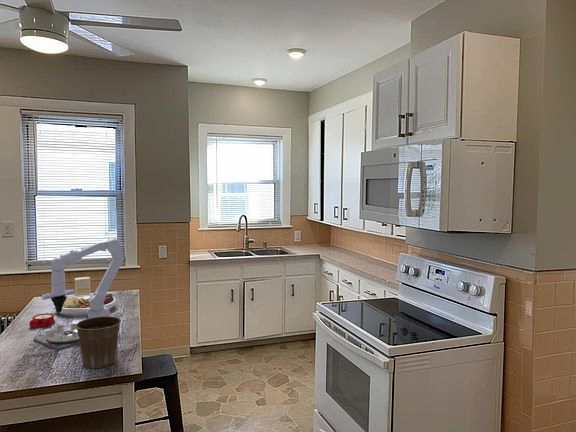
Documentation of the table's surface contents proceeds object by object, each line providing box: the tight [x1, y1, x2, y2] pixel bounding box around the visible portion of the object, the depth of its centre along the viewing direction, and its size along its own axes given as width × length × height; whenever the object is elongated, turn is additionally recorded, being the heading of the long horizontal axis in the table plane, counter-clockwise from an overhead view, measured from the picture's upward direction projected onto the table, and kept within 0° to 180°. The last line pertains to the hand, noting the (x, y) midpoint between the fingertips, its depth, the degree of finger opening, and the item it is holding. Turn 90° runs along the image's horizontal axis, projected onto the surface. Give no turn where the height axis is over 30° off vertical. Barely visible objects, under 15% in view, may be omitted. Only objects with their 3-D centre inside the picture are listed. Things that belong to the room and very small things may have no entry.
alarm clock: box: [29, 312, 56, 329], centre depth 216 cm, size 10×6×15 cm
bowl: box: [58, 292, 116, 317], centre depth 243 cm, size 30×30×8 cm
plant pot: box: [76, 316, 122, 370], centre depth 171 cm, size 16×16×16 cm
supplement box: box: [74, 276, 92, 297], centre depth 264 cm, size 8×5×13 cm, turn 120°
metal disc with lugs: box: [45, 321, 80, 343], centre depth 196 cm, size 17×17×4 cm
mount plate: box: [33, 334, 80, 351], centre depth 197 cm, size 20×20×1 cm
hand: (58, 311), depth 206 cm, fingers closed
